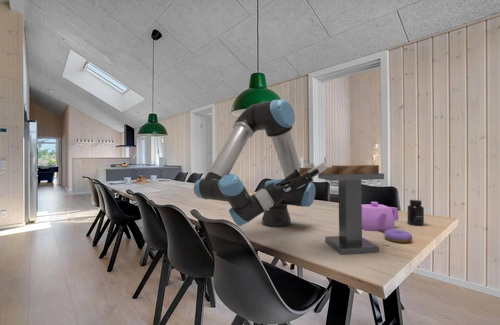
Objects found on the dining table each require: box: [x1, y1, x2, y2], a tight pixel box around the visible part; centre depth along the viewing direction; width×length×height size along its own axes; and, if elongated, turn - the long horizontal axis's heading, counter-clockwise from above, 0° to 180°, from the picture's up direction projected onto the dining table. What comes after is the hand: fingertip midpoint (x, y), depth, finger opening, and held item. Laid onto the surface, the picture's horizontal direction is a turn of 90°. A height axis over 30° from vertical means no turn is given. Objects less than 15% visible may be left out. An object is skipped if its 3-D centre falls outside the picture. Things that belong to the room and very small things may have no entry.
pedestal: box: [317, 172, 385, 255], centre depth 95 cm, size 20×14×28 cm
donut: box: [383, 228, 413, 244], centre depth 102 cm, size 10×9×5 cm
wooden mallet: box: [299, 164, 380, 176], centre depth 94 cm, size 28×9×3 cm, turn 96°
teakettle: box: [362, 201, 400, 232], centre depth 121 cm, size 17×17×12 cm
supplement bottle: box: [407, 199, 425, 227], centre depth 125 cm, size 7×7×12 cm
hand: (318, 165), depth 94 cm, fingers open, 10 cm apart
